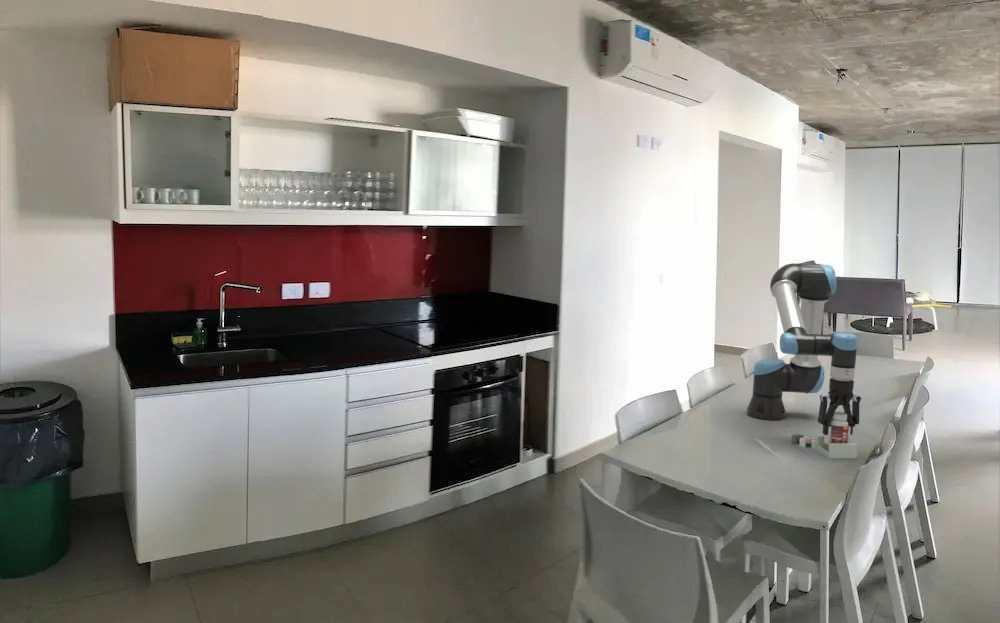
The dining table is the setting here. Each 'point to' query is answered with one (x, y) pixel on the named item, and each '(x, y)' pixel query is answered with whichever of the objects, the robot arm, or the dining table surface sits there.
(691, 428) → the dining table surface
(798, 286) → the robot arm
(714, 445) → the dining table surface
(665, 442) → the dining table surface
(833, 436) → the pill bottle
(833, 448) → the end holder
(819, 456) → the board
